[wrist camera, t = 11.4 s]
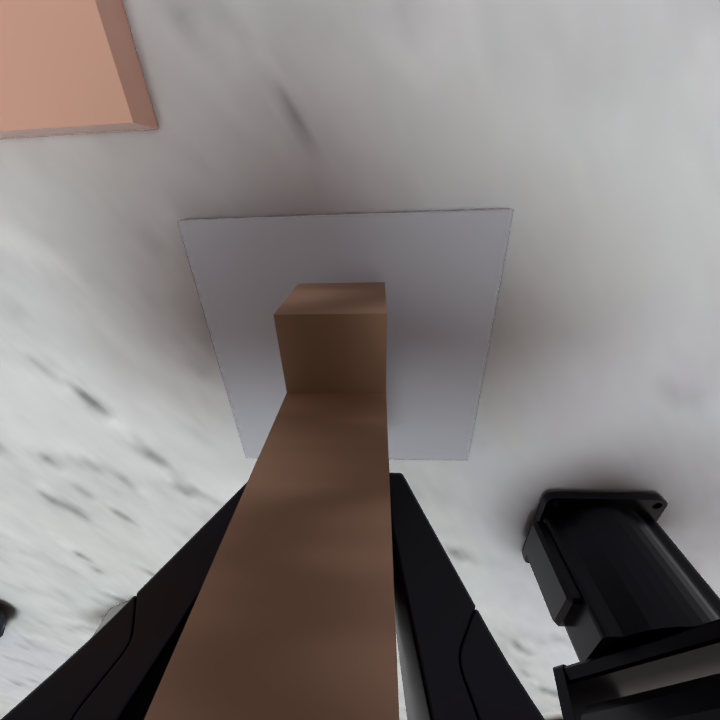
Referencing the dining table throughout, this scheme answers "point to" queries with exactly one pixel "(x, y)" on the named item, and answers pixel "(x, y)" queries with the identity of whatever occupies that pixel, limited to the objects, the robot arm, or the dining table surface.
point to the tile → (69, 70)
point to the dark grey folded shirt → (2, 623)
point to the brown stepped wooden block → (304, 540)
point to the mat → (403, 301)
